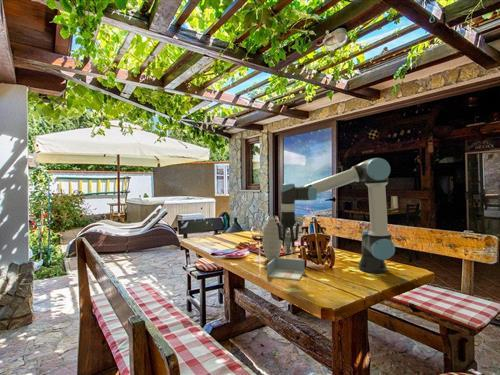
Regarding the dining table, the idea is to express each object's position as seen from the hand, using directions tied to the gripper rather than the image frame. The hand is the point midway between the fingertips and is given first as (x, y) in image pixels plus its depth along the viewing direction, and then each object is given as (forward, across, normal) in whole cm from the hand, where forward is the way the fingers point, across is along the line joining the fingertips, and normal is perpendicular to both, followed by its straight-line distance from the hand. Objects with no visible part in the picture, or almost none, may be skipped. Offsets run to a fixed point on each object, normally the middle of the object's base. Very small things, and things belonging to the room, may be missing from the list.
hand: (288, 252), depth 166 cm
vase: (+13, +18, -27) cm, 35 cm away
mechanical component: (+1, 0, 0) cm, 1 cm away
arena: (+13, +2, -2) cm, 13 cm away
